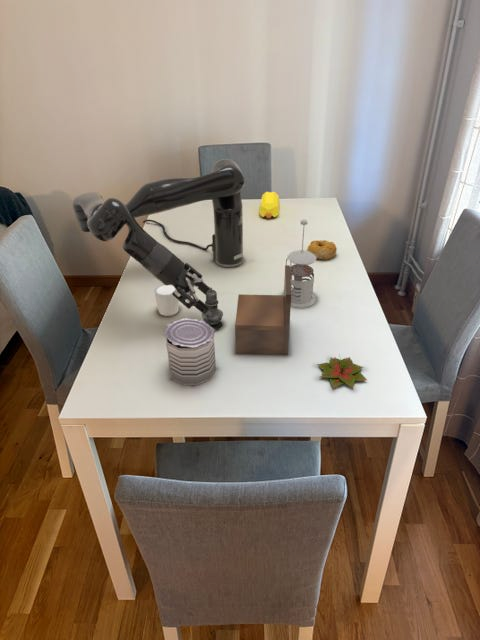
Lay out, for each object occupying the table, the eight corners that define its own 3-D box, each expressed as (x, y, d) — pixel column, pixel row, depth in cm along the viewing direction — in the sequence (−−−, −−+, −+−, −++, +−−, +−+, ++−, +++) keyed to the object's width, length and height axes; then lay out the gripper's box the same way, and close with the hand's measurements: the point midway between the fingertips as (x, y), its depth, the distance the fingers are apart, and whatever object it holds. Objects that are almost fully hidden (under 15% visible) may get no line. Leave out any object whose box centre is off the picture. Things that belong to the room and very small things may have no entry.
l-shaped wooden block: (235, 353, 123) (234, 293, 113) (239, 321, 135) (238, 264, 124) (288, 355, 122) (291, 294, 112) (286, 322, 134) (289, 265, 124)
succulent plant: (376, 385, 113) (379, 370, 110) (329, 396, 110) (331, 381, 108) (352, 354, 122) (354, 339, 120) (308, 363, 120) (309, 348, 117)
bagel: (334, 247, 171) (336, 234, 168) (337, 262, 162) (338, 249, 159) (306, 246, 172) (307, 234, 169) (307, 261, 163) (308, 248, 160)
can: (172, 355, 123) (168, 316, 116) (217, 355, 123) (215, 316, 116) (165, 385, 114) (160, 345, 107) (214, 386, 113) (211, 345, 106)
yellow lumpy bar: (258, 220, 191) (278, 220, 191) (258, 204, 187) (278, 204, 187) (261, 203, 206) (279, 203, 205) (261, 187, 202) (280, 188, 202)
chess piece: (220, 332, 131) (219, 294, 124) (199, 329, 132) (196, 292, 125) (225, 319, 135) (224, 282, 129) (205, 317, 136) (202, 280, 130)
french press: (294, 311, 139) (298, 230, 124) (273, 292, 147) (275, 214, 133) (322, 302, 142) (330, 222, 128) (300, 284, 151) (305, 207, 136)
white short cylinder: (184, 306, 141) (182, 285, 137) (174, 319, 136) (172, 297, 132) (163, 302, 143) (160, 281, 139) (152, 314, 138) (149, 293, 134)
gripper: (158, 259, 131) (202, 296, 137) (146, 286, 119) (196, 325, 125) (176, 241, 128) (220, 280, 134) (166, 267, 116) (215, 309, 122)
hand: (208, 302), depth 129 cm, fingers open, 8 cm apart
